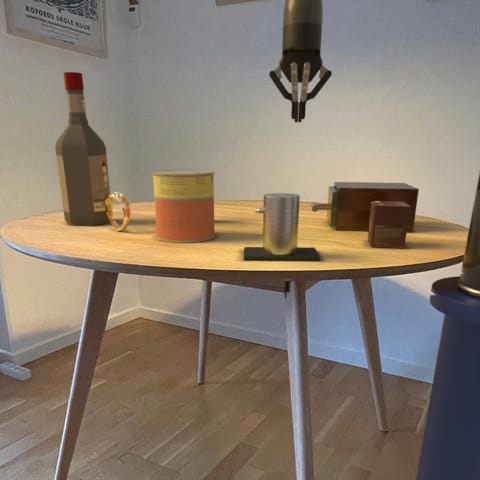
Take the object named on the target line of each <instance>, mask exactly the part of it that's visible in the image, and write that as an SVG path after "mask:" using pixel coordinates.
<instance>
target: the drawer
mask: <svg viewBox="0 0 480 480" xmlns="http://www.w3.org/2000/svg"><path fill="white" fill-rule="evenodd" d="M327 194H328V196H327V203H318V202H316V201H312V202H311V203H310V206H311V211H312V212H315V213H316V212H318V211H326V217H327V221H328V224H329V226H334V225H336V217H337V204H338V191H337V190H336V188H335V187H334V185H329V186H328V193H327Z"/></svg>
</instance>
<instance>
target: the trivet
mask: <svg viewBox="0 0 480 480" xmlns="http://www.w3.org/2000/svg"><path fill="white" fill-rule="evenodd" d="M243 261H281V262H282V261H284V262H285V261H289V262H290V261H292V262H293V261H295V262H296V261H299V262H300V261H301V262H303V261H304V262H320V261H321V256H320V254H319V253H318V250H317V249H316V247H311V246H309V247H305V246H303V247H302V246H301V247H299V246H297V253H296V254H293V255H286V256H276V255H269V254H265V253H263V246H244V247H243Z"/></svg>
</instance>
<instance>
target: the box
mask: <svg viewBox="0 0 480 480" xmlns="http://www.w3.org/2000/svg"><path fill="white" fill-rule="evenodd" d="M409 209H410V206H409V205H408V204H407V203H405V202H390V201H373V202H371V212H370V222H369V231H368V234H367V242H368V244H369V246H370V247H371V248H395V249H396V248H397V249H404V248H405V247H406V240H407V233H408V232H407V225H408V217H409Z"/></svg>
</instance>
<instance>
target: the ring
mask: <svg viewBox="0 0 480 480" xmlns="http://www.w3.org/2000/svg"><path fill="white" fill-rule="evenodd" d="M115 200H117V201H118V202H119V204H120V205H121V208H122V212H123V222H122V225H118V223H117V221H116V219H115V217H114V213H113V205H114V201H115ZM105 205H106V211H107V215H108V218H109V220H110V221H109V222H110V224H111V225H112V227H113V228H114V229H115V230H116V231H117V232H123V231H124V230H126V229H127V228H128V226H129V223H130V220H131V206H130V202H129V200H128V199H127V197H126V194H124V193H123V192H122V191H121V190H117V191H116V190H112V191H111V193H110V195H108V198H107V199H106V203H105Z"/></svg>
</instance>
